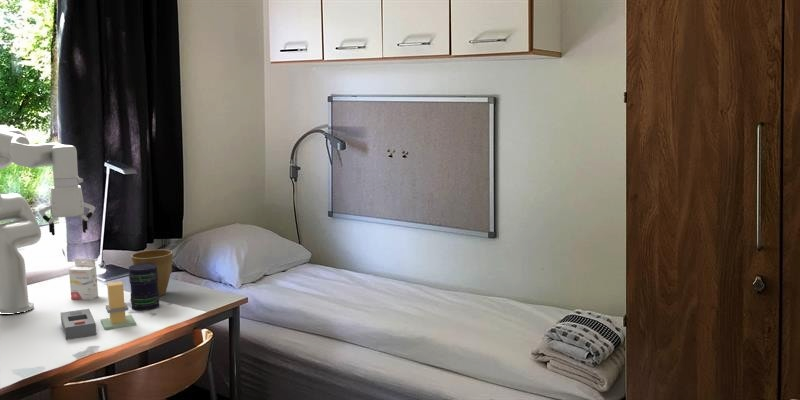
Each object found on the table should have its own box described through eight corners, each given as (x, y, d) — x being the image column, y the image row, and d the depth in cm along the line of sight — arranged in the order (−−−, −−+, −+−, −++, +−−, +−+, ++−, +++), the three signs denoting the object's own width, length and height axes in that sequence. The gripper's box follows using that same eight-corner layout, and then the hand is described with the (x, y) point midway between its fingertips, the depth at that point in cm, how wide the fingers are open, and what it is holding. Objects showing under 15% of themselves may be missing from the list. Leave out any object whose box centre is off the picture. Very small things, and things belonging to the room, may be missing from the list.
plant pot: (181, 289, 305) (178, 249, 302) (166, 300, 290) (163, 258, 288) (144, 288, 306) (141, 248, 304) (127, 299, 292) (124, 257, 289)
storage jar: (126, 307, 283) (123, 266, 280) (151, 301, 289) (149, 261, 287) (139, 312, 276) (136, 271, 273) (164, 306, 282) (162, 266, 280)
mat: (100, 321, 266) (100, 319, 266) (131, 317, 271) (131, 314, 271) (104, 329, 258) (104, 327, 257) (136, 324, 262) (136, 322, 262)
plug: (106, 319, 265) (103, 282, 263) (126, 317, 268) (123, 280, 266) (109, 325, 260) (106, 287, 258) (129, 322, 263) (126, 284, 261)
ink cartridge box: (70, 299, 293) (67, 261, 291) (77, 295, 298) (74, 258, 296) (92, 299, 292) (89, 261, 290) (98, 296, 297) (95, 258, 295)
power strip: (61, 324, 264) (60, 310, 264) (89, 319, 268) (88, 306, 268) (66, 339, 249) (65, 325, 248) (96, 334, 253) (95, 321, 252)
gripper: (92, 179, 266) (94, 228, 270) (36, 182, 258) (39, 233, 261) (95, 182, 260) (97, 233, 263) (38, 186, 252) (41, 237, 255)
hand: (68, 233), depth 262 cm, fingers open, 9 cm apart
